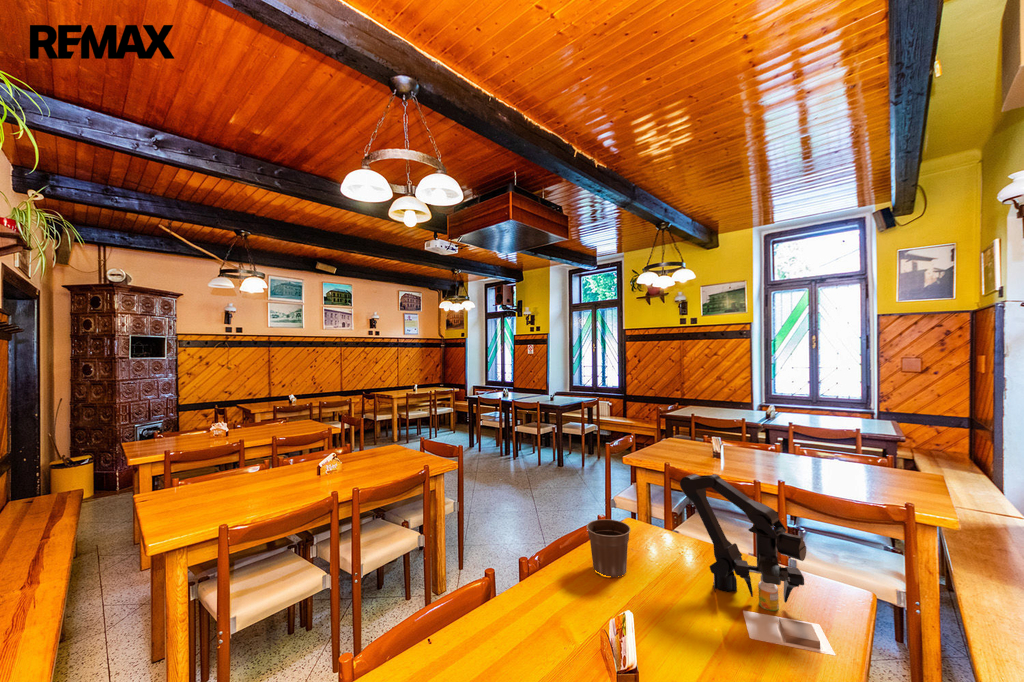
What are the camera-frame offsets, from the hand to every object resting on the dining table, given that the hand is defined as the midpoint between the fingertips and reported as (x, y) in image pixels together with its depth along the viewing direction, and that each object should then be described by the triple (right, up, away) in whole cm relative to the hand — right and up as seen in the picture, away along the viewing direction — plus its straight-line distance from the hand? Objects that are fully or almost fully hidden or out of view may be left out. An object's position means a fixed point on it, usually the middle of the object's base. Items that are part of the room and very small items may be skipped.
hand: (768, 599), depth 134 cm
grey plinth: (0, -1, -15) cm, 15 cm away
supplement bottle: (0, -3, 0) cm, 3 cm away
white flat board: (-3, -2, -13) cm, 13 cm away
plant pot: (-45, -5, +25) cm, 51 cm away
